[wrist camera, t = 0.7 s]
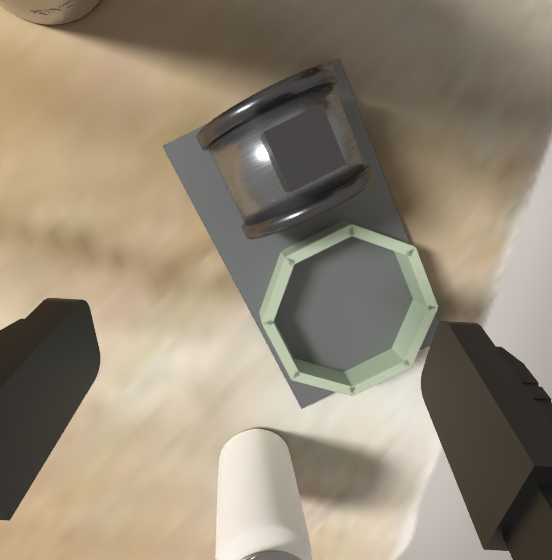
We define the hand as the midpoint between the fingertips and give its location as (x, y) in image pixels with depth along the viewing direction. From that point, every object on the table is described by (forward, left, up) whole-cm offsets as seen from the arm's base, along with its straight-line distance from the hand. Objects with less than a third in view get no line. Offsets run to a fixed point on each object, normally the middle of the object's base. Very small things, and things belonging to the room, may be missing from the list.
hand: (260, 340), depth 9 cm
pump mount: (+4, +5, -22) cm, 23 cm away
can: (+19, -8, -22) cm, 30 cm away
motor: (-3, +5, -21) cm, 22 cm away
